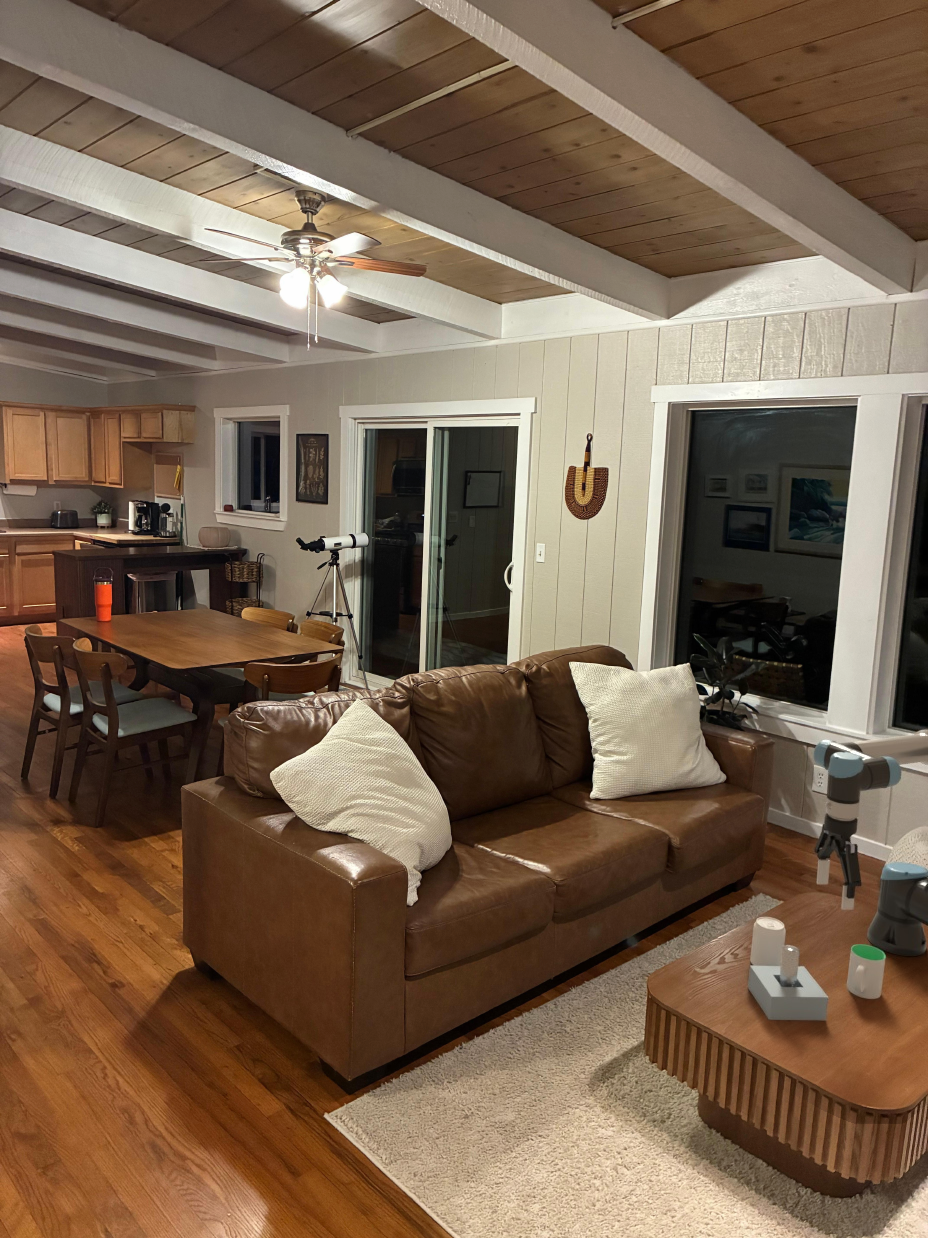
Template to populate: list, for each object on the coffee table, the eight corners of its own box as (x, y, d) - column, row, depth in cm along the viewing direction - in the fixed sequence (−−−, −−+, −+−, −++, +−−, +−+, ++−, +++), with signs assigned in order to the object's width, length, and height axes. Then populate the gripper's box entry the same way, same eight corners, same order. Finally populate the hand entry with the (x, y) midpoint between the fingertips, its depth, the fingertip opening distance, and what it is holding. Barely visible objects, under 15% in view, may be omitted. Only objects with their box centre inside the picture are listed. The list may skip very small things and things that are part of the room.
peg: (790, 997, 227) (795, 945, 225) (796, 1006, 223) (802, 953, 221) (774, 997, 227) (779, 945, 224) (781, 1006, 223) (786, 953, 221)
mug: (874, 1010, 224) (879, 970, 222) (840, 998, 228) (844, 959, 227) (883, 989, 234) (888, 951, 232) (850, 978, 238) (854, 941, 237)
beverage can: (777, 959, 246) (782, 917, 245) (785, 974, 238) (789, 932, 237) (747, 956, 247) (751, 914, 245) (753, 971, 239) (757, 929, 237)
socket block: (801, 988, 232) (803, 966, 231) (825, 1020, 218) (828, 997, 218) (747, 987, 231) (750, 965, 230) (768, 1020, 218) (771, 996, 217)
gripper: (804, 797, 236) (798, 874, 239) (850, 835, 211) (843, 920, 215) (832, 797, 236) (826, 874, 240) (882, 835, 212) (873, 920, 215)
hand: (834, 896), depth 227 cm, fingers open, 13 cm apart
